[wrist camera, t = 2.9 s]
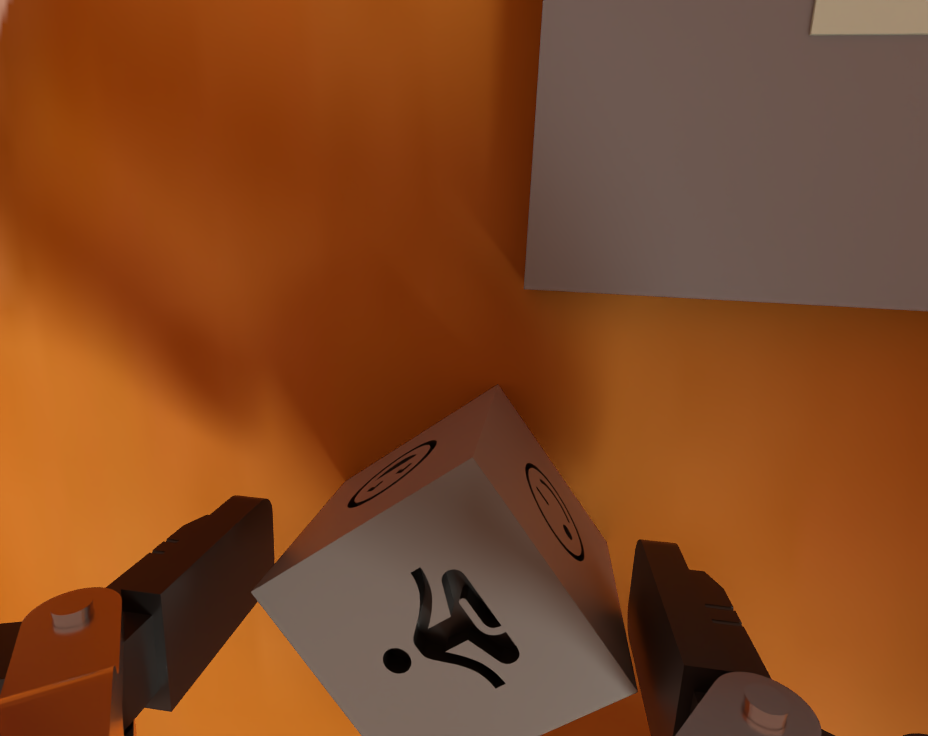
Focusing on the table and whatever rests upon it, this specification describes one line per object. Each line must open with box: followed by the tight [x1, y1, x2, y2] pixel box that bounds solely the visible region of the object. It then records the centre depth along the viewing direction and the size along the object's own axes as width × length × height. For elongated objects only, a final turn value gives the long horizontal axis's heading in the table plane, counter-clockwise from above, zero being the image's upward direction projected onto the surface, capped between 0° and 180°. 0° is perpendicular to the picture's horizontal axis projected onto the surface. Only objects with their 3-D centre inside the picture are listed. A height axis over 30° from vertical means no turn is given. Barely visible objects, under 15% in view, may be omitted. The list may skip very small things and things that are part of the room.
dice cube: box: [251, 384, 638, 736], centre depth 12 cm, size 5×5×5 cm
